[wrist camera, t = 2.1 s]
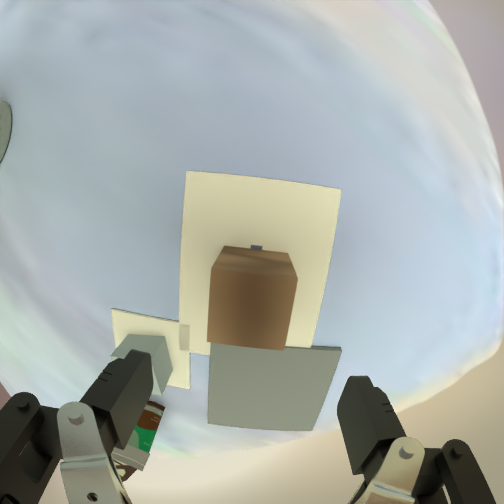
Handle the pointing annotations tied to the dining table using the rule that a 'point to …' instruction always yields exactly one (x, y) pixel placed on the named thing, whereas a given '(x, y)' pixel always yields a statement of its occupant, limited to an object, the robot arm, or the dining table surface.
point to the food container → (138, 442)
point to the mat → (269, 386)
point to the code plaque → (254, 243)
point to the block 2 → (251, 298)
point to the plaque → (156, 327)
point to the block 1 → (158, 357)
